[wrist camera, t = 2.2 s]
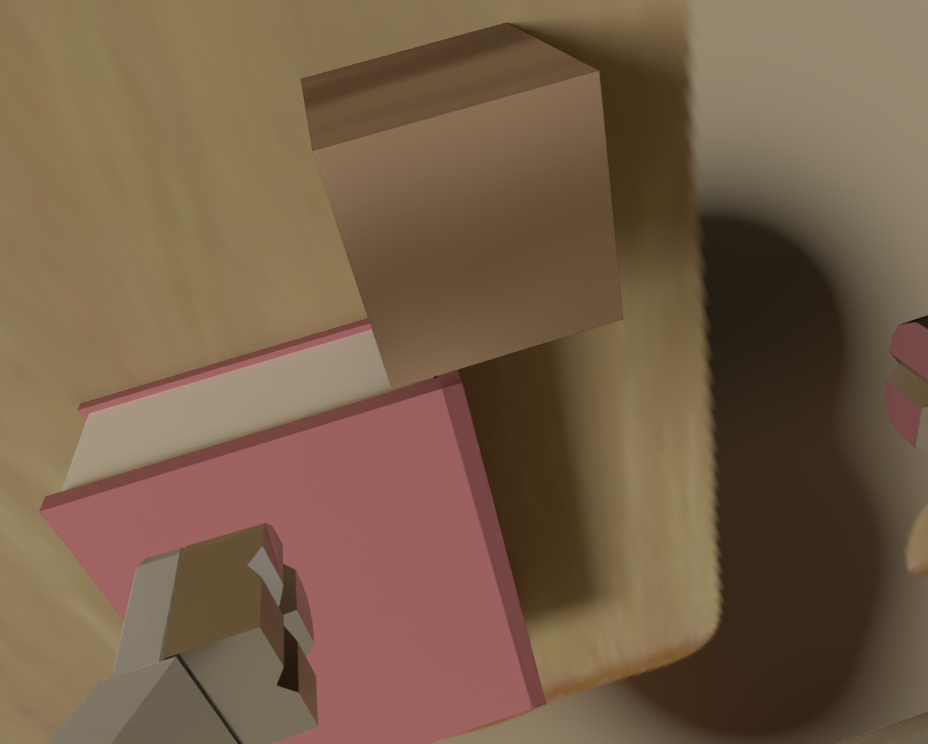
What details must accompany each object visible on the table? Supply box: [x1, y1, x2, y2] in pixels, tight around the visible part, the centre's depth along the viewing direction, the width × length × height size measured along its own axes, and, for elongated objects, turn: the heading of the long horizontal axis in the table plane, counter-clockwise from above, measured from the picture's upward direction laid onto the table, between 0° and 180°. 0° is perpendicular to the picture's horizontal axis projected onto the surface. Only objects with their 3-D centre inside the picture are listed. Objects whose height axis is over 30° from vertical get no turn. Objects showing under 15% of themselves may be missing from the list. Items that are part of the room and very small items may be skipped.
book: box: [40, 318, 546, 744], centre depth 23 cm, size 14×10×4 cm
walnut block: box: [301, 23, 623, 389], centre depth 16 cm, size 5×5×6 cm
